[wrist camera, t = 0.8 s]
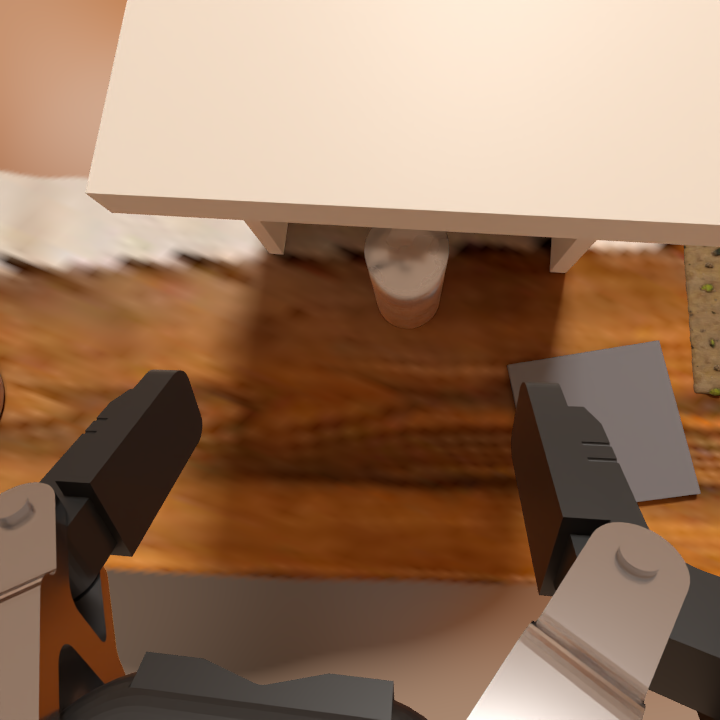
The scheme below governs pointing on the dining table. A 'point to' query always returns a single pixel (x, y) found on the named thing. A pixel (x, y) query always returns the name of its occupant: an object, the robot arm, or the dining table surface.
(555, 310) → the dining table surface
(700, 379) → the cookie
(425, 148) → the white c-shaped side table
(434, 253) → the pale cylinder
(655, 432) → the rubber mat
